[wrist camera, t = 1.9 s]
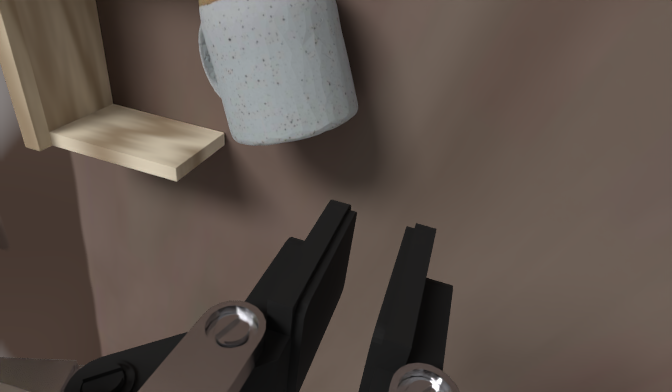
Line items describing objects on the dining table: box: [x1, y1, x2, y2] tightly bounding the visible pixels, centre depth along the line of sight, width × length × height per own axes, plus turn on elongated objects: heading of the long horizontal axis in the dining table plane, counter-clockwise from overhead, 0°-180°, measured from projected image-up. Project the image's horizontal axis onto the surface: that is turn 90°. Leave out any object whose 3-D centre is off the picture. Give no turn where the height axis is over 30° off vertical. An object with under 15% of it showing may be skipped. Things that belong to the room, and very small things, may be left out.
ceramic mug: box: [198, 0, 358, 146], centre depth 25 cm, size 11×8×8 cm
